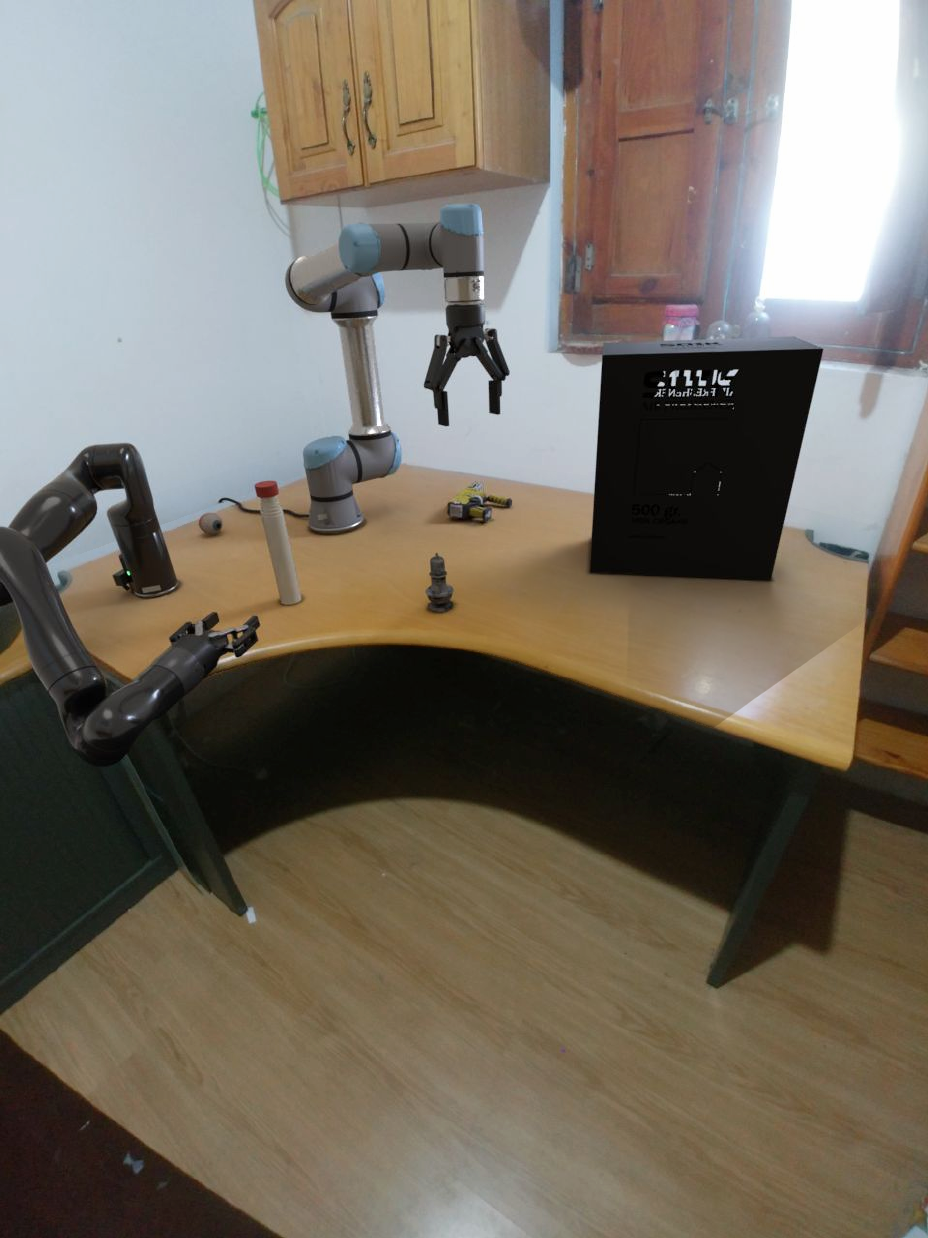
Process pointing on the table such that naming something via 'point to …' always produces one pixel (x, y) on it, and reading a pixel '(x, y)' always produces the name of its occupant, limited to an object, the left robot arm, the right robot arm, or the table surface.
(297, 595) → the bottle
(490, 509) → the toy gun
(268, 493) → the cap
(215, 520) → the eyeball
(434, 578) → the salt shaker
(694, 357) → the cardboard box
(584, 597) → the table surface
